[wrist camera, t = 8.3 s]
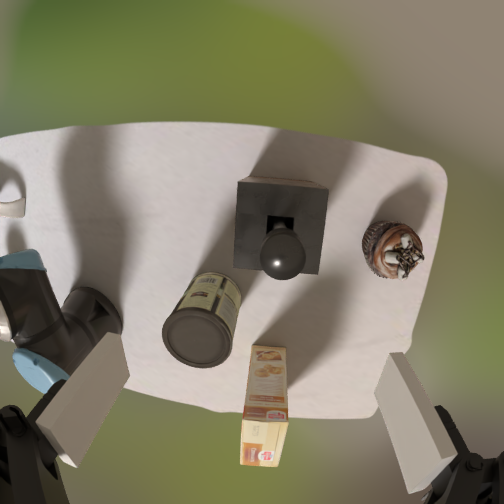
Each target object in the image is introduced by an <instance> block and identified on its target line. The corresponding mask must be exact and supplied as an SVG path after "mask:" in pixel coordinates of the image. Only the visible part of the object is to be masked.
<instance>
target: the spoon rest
mask: <svg viewBox="0 0 504 504" xmlns="http://www.w3.org/2000/svg"><path fill="white" fill-rule="evenodd" d="M24 210H25V198H22V199H19V200H16V201H13V202H7V203H4V202H0V216H2V217H8V218H23V217H24Z"/></svg>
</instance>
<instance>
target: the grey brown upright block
mask: <svg viewBox="0 0 504 504" xmlns="http://www.w3.org/2000/svg"><path fill="white" fill-rule="evenodd" d="M328 192H329V189H327V188H324V187H322V186H320V185H318V184H316V183H313V182H311V181H302V180H292V179H281V178H268V177H255V176H248V177H246V178H244V179H242V180H240V181H238V187H237V205H236V223H235V243H234V264H233V268H243V269H254V270H263V268H262V266H261V263H260V253H261V246H262V241H263V239H264V237H265V236H266V229H267V216H268V215H271V216H283V217H294V220H293V230H292V231H294V232H295V233H296V234H297V235H298V236H299V237H300V239H301V242H302V244H303V247H304V250H305V253H306V262H305V266H304V268H303V270H302V271H301V272H300V273H304V274H317V275H318V271H319V264H320V258H321V250H322V243H323V235H324V227H325V219H326V210H327V201H328Z"/></svg>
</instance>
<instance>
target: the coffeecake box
mask: <svg viewBox="0 0 504 504" xmlns="http://www.w3.org/2000/svg"><path fill="white" fill-rule="evenodd" d="M288 422H289V421H288V396H287V366H286V348H284V347H268V346H258V345H252V348H251V358H250V366H249V374H248V382H247V389H246V397H245V405H244V412H243V419H242V431H241V454H240V456H241V457H240V463H241V464H243V465H253V466H270V467H277V466H278V463H279V460H280V456H281V452H282V448H283V444H284V440H285V436H286V432H287V427H288Z"/></svg>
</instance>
